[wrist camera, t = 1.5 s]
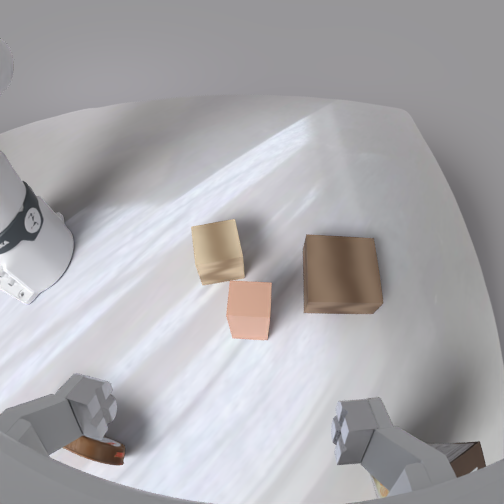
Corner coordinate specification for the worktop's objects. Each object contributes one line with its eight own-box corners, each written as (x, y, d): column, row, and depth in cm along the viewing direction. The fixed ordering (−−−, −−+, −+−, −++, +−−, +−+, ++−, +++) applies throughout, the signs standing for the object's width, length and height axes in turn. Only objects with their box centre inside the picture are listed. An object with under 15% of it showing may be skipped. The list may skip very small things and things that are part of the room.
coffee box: (422, 492, 25) (496, 508, 12) (382, 515, 25) (445, 549, 11) (406, 441, 30) (481, 439, 16) (364, 462, 29) (427, 479, 15)
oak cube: (202, 285, 43) (195, 265, 38) (198, 250, 46) (191, 226, 41) (244, 278, 43) (242, 256, 38) (237, 243, 46) (234, 219, 41)
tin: (45, 426, 30) (8, 421, 23) (48, 408, 32) (12, 399, 25) (133, 464, 29) (104, 471, 22) (136, 443, 31) (108, 446, 24)
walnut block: (303, 312, 40) (308, 301, 37) (302, 249, 45) (306, 234, 42) (373, 313, 40) (383, 302, 36) (365, 252, 45) (373, 238, 42)
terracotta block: (232, 338, 39) (226, 315, 31) (235, 309, 41) (229, 280, 33) (267, 340, 38) (270, 317, 31) (268, 311, 41) (271, 282, 33)
